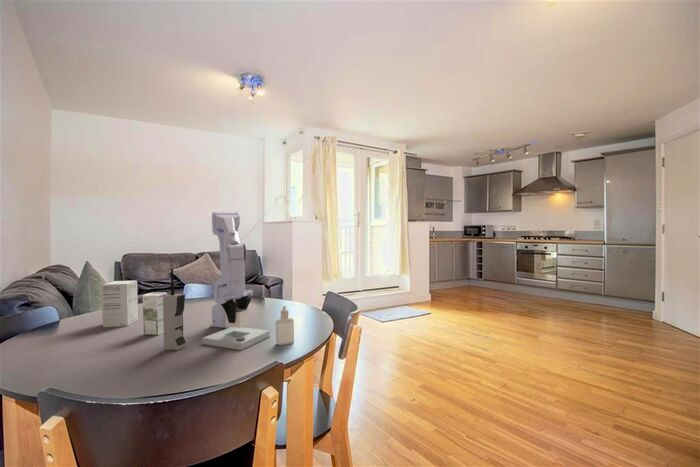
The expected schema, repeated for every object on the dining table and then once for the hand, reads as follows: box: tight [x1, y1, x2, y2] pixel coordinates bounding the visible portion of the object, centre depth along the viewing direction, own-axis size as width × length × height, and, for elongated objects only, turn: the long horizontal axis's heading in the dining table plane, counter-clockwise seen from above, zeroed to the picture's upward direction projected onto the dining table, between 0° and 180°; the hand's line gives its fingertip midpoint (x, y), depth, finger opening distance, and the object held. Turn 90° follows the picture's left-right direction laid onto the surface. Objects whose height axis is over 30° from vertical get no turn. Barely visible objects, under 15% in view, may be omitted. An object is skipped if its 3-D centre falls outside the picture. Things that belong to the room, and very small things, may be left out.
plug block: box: [226, 308, 249, 328], centre depth 111 cm, size 6×4×5 cm, turn 67°
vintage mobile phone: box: [163, 268, 187, 351], centre depth 104 cm, size 4×5×25 cm
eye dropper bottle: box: [275, 305, 295, 346], centre depth 107 cm, size 4×6×12 cm
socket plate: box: [201, 326, 271, 351], centre depth 111 cm, size 16×14×3 cm
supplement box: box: [101, 280, 139, 328], centre depth 135 cm, size 10×9×17 cm
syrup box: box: [142, 292, 168, 336], centre depth 121 cm, size 6×6×14 cm
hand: (236, 321), depth 111 cm, fingers closed on plug block, 4 cm apart
